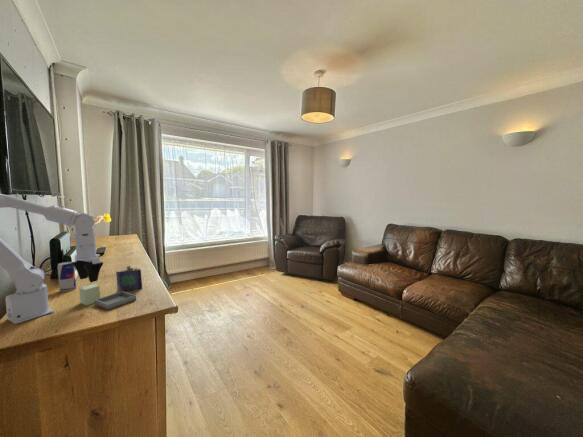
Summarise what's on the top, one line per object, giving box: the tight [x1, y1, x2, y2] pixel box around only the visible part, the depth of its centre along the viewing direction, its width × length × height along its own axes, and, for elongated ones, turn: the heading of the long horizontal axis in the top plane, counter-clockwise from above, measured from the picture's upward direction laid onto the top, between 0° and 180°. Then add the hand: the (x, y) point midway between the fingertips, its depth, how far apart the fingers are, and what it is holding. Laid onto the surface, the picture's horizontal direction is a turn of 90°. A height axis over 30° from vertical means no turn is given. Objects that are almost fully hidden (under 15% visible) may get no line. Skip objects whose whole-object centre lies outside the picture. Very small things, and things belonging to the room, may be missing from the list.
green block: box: [78, 283, 101, 306], centre depth 92 cm, size 4×4×6 cm
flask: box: [115, 265, 143, 293], centre depth 104 cm, size 9×3×11 cm, turn 109°
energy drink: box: [56, 261, 77, 293], centre depth 105 cm, size 5×5×12 cm
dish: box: [94, 291, 137, 311], centre depth 91 cm, size 10×10×2 cm
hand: (88, 279), depth 92 cm, fingers open, 7 cm apart
